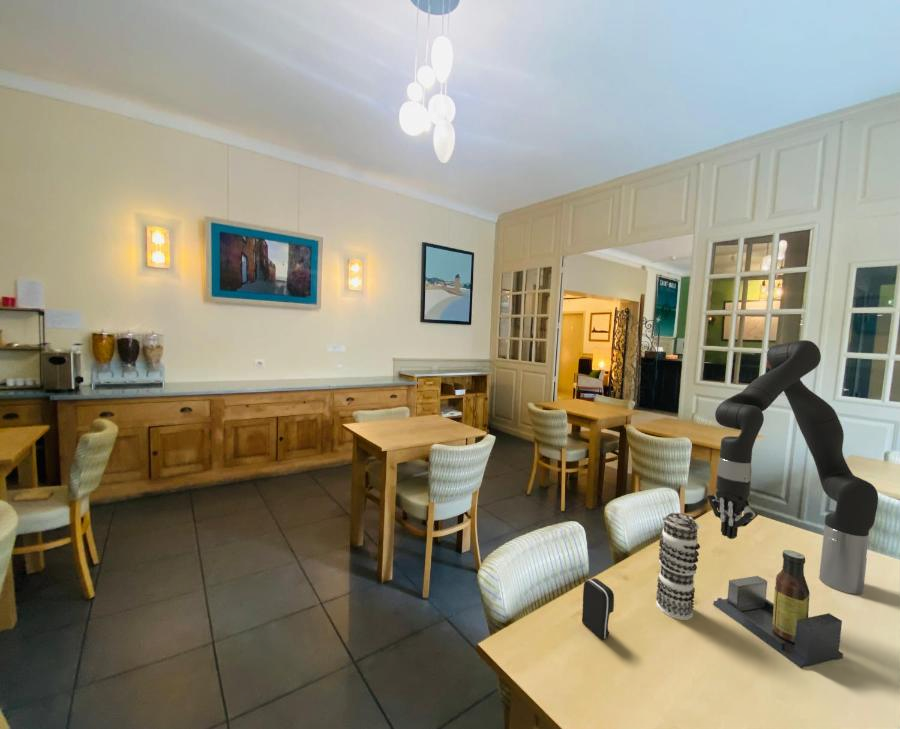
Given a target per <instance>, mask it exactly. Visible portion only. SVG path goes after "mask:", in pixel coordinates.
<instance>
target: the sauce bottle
mask: <svg viewBox="0 0 900 729" xmlns="http://www.w3.org/2000/svg"><path fill="white" fill-rule="evenodd" d="M782 558H783V560H782V569H781V571H780V572H778V574H776V577H775V586H774V593H773V595H774V597H773V604H774V610H773V629H774V631H775V632H776V634H778V635H779V636H780V637H782V638H783V639H785V640H788V641H790V642H793V643H795V636H796V626H797V620H799V619H804V618H808V617H809V612H810V611H809V610H810V609H809V608H810V590H809V586H808V583H807V580H806V576H805V575H804V574H805V570H804V569H805V567H804V566H805V563H806V557H805V556H804V554H802V553H800V552H797V551H795V550H789V549H785V550H782Z"/></svg>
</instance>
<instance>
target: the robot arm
mask: <svg viewBox="0 0 900 729" xmlns="http://www.w3.org/2000/svg"><path fill="white" fill-rule="evenodd" d="M766 358H767V362H768V365H769V367H770V370H769V371H767V372H765V373H763V374H761V375H760V376H758V377H756V378H755V379H754V380H753V381H751V382H750V383H749V384H748V385H747V386H746V387H745V388H744V389H743V390H742V391H741V392H739V393H736V394H735V395H733V396H731V397H728V398H727V399H725V400H724V401H722V402H721V403H720V404H719V405H718V406H717V407H716V408H715V413H714V414H715V415H714V417H715V421H716V422H717V423H718V425H720V426H722V427H724V428H729V429H733V430H739V431H740V433H739V435H738V436H731V435H730V436H723V438H722V439H721V441H720V448H719V450H720V452H719V459H718V463H717V472H716V483H715V484H716V485H715V486H716V487H715V488H716V492H715V494H708V495H707V500H708V502H709V504H710V507H711V508H712V512H713V513H714V516H715V517H716V518H719V519H720V522H721V524H720V525H721V526H720V532H721V535H722V536H723V537H727V538H728V539H730V540H733V539H735V538H737V537H738V530H739V528H742V527H747V526H748V525H749V524H750V523H751V522H752V521H753V520H754V519H756V517H758V512H757V511H753V510H752V509H751V508H750V503H749V499H748V498H749V497H750V493H751V483H752V473H753V472H752V469H753V468H752V458H753V448H754V445H755V443H756V440H757V437H758V435H759V433H760V431H761V429H762V426H763V424H764V421H765V420H764V419H765V418H764V417H765V416H764V413H763V412H764V411H766V410H767V409H768V408H769V407H770V406H771V405H772V404H773V402H774V401H775V400H776V399H777V398H778V397H779V396H780V395H781V394H783V393H784V395H785V397H786V399H787V401H788V403H789V406H790V407H791V410H792V413H793V415H794V417H795V420H796V423H797V426H798V427H799V430H800V433H801V434H802V436H803V439H804V440H805V443H806V445H807V447H808V449H809V452H810V454H811V456H812V458H813V461H814V462H815V467H816V470H817V473H818V474H817V475H818V478H819V481H820V484H821V486H822V490H823V492H824V493H825V494H826V496H828V497H829V498H830V499H832V500H833V501H835V503H836V505H835V511H834V512H830V513H827V514H826V515H825V518H824V527H823V537H822V547H821V557H820V565H819V566H820V567H819V574H818V575H819V578H818V579H819V580H820V581H821V582H822V583H823V584H825V585H827V586H829V587H830V588H833V589H835V590H837V591H840V592H842V593H847V594H852V595H861V594H862V593H863V592H864V590H863V589H865V588H864V587H865V578H866V571H867V570H866V569H867V568H866V567H867V562H868V561H867V555H868V554H867V553H868V547H869V546H868V543H869V536H870V530H871V529H872V528H873V526H874V525H875V520H876V516H877V512H878V506H879V505H878V504H879V494H878V491H877V488H876V487H875V486H874V484H872V483H870V482H869V481H867V480H865V479H863V478H861V477H858V476H856V475H854V473H853V472H852V471H851V469H850V468H849V465H848V464H847V462H846V459H845V457H844V453H843V446H844V439H845V438H844V437H845V434H844V433H845V432H844V430H843V425H842V424H841V421H840V419H839V417H838V415H837V412H836V410H835V408H834V407H832V406H831V405H830V404H829V403H828V402H827V401H826V400H824V399H823V398H821V397H820V396H819V395H817V394H816V393H814V392H813V391H812V390H811V389H809V388H808V387H807V386H806V385H805V384H804V383H803V381H802V380H801V379H802V378H803V377H804V376H806V375H807V374H809V373H811V372H812V371H813V370H815V369H816V368H817V367H818V366H819V365H820V362H821V359H822V355H821V351H820V348H819V347H818V345H817V344H816V343H814V342H813V341H811V340H806V339H804V340H795V341H790V342H785V343H781V344H780V343H779V344H775V345H771V346H770V347H769V348H768V350H767V352H766Z"/></svg>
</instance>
